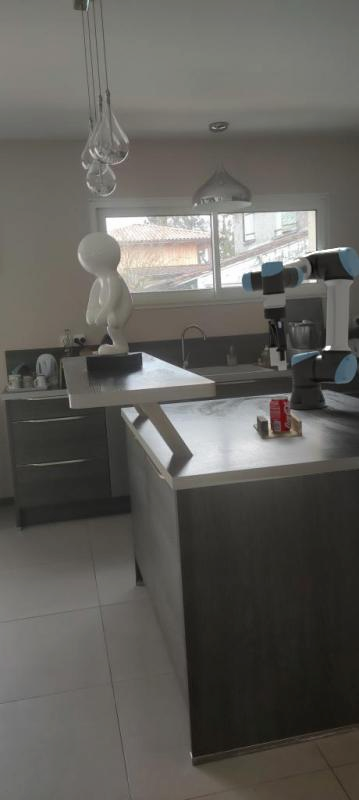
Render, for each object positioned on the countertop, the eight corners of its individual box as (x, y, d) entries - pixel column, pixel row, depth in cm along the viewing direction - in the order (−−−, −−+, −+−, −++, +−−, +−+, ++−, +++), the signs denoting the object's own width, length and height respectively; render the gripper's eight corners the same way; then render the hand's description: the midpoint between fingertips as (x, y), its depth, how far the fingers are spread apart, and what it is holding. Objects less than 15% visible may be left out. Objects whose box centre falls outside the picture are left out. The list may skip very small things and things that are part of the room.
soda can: (290, 428, 204) (289, 395, 202) (292, 433, 197) (290, 398, 196) (270, 429, 205) (268, 396, 203) (271, 434, 198) (269, 399, 196)
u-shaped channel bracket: (289, 422, 217) (288, 408, 216) (302, 435, 196) (301, 419, 195) (253, 425, 217) (252, 411, 216) (262, 438, 195) (261, 422, 195)
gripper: (257, 307, 212) (261, 364, 216) (270, 308, 188) (274, 373, 191) (278, 305, 212) (281, 362, 216) (293, 306, 188) (297, 371, 191)
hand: (278, 368), depth 204 cm, fingers open, 13 cm apart
